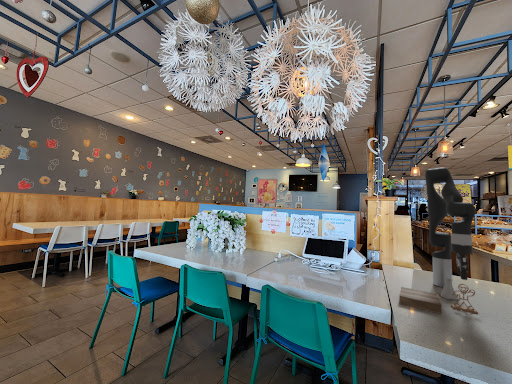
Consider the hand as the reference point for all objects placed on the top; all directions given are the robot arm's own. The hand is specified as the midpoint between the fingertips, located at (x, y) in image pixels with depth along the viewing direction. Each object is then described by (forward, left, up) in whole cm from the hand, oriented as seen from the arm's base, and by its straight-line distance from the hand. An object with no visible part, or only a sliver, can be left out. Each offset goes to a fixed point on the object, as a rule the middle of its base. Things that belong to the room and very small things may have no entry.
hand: (462, 277), depth 105 cm
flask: (-15, -4, -15) cm, 22 cm away
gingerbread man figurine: (0, 0, -15) cm, 15 cm away
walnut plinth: (+5, -17, -15) cm, 23 cm away
